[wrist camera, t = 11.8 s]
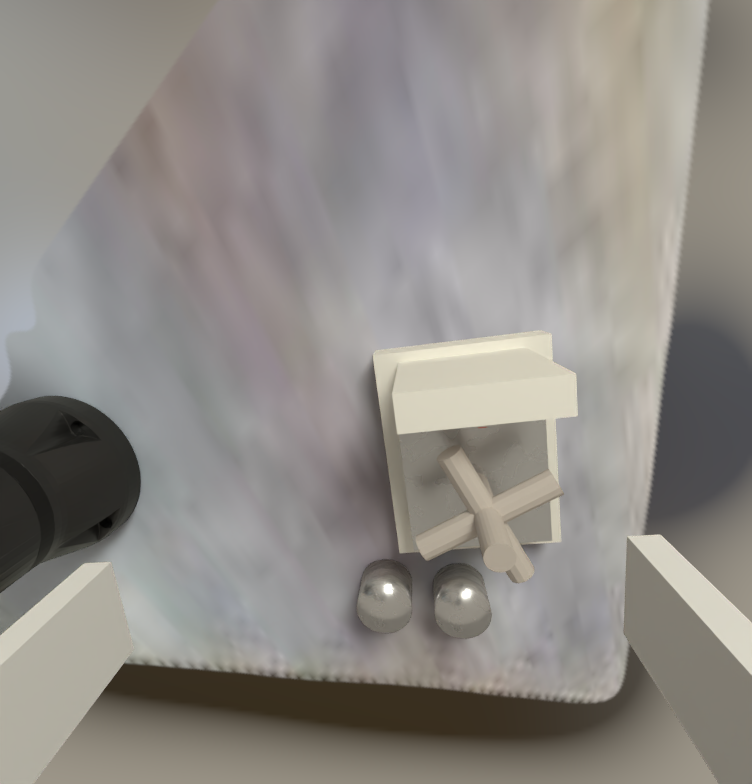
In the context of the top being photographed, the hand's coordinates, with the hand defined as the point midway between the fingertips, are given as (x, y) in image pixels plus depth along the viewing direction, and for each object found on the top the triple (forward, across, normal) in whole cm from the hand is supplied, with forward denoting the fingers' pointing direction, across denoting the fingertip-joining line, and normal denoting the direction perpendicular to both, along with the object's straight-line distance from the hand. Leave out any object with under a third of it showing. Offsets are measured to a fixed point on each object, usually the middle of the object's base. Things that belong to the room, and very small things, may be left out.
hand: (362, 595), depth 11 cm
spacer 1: (+28, -2, -21) cm, 35 cm away
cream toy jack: (+23, +6, -8) cm, 25 cm away
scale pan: (+23, +6, -8) cm, 25 cm away
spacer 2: (+28, +5, -21) cm, 36 cm away
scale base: (+28, +6, -6) cm, 30 cm away
